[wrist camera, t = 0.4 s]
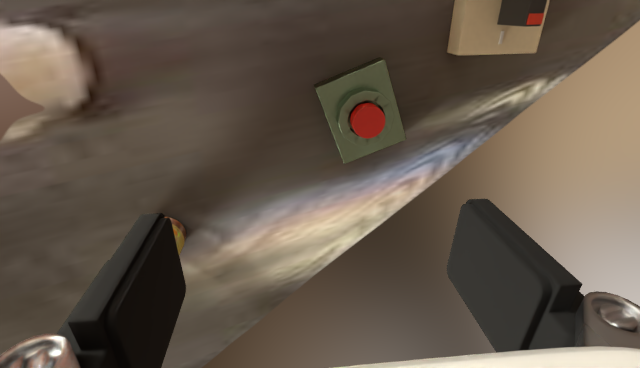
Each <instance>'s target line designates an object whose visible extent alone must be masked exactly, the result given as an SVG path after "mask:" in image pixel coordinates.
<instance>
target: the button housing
mask: <svg viewBox="0 0 640 368" xmlns="http://www.w3.org/2000/svg"><path fill="white" fill-rule="evenodd" d="M314 87H315V90H316V92H317V95H318V97H319V100H320V103H321V105H322V108H323V110H324V113H325V116H326V118H327V121H328V123H329V126H330V129H331V131H332V134H333V137H334V139H335V142H336V144H337V147H338V150H339V152H340V155H341V157H342V160H343V162H344V164H345V163H348V162H351V161H353V160H356V159H358V158H361V157H363V156H366V155H368V154H371V153H373V152H376V151H378V150H381V149H384V148H386V147H389V146H391V145H394V144H396V143H399V142H401V141H404V140H406V136H405V132H404V128H403V125H402V121H401V117H400V114H399V110H398V106H397V103H396V99H395V95H394V91H393V88H392V84H391V80H390V77H389V73H388V69H387V66H386V62H385V60H384V59H382V58H377V59H375V60H372V61H370V62H368V63H365V64H363V65H360V66H358V67H356V68H353V69H351V70H348V71H346V72H344V73H341V74H339V75H336V76H334V77H332V78H329V79H327V80H324V81H322V82H319V83H317V84H315V85H314ZM362 103H372V104H375V105H376V106H377V107H378V108H379V109H380V110H381V111H382V112H383V113H384V116H385V126H384V128H383V130H382V131H381V133H380V134H378V135H377V136H375V137H373V138H362V137H360V136H358V135H357V134H356V133H355V131H354V129H353V128H352V126H351V123H350V117H351V114H352V112H353V110H354V109H355V108H356V107H357V106H358V105H360V104H362Z"/></svg>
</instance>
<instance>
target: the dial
mask: <svg viewBox="0 0 640 368" xmlns="http://www.w3.org/2000/svg"><path fill="white" fill-rule="evenodd" d="M546 3H547V0H502V3H501V8H500V13H499V18H498V22H497V25H509V26H523V27H531V26H541V24H542V20H543V16H544V10H545V7H546Z"/></svg>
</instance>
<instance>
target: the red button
mask: <svg viewBox="0 0 640 368" xmlns="http://www.w3.org/2000/svg"><path fill="white" fill-rule="evenodd" d="M350 123H351V126H352V128H353V129H354V131H355V133H356V134H357V135H358V136H360V137H362V138H373V137H375V136H377V135H378V134H380V133H381V131H382V130H383V128H384V126H385V116H384V113H383V112H382V111H381V110H380V109H379V108H378V107H377V106H376V105H375V104H372V103H362V104H360V105H358V106H357V107H356V108H355V109H354V110H353V112H352V114H351V117H350Z"/></svg>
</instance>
